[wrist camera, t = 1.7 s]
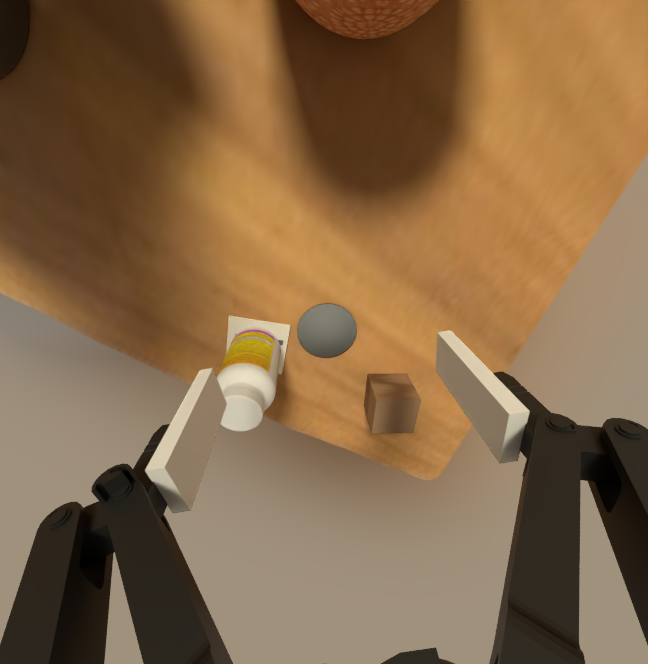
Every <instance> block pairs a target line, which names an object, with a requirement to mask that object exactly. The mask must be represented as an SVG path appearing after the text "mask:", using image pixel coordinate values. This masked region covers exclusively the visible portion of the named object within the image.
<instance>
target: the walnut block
mask: <svg viewBox="0 0 648 664" xmlns="http://www.w3.org/2000/svg"><path fill="white" fill-rule="evenodd" d="M420 402H421V399H420V397H419V395H418V393H417V391H416V390H415V388H414V386H413V384H412V382H411V380H410V378H409V376H408V375H407V374H368V375H367V383H366V392H365V400H364V407H365V411H366V415H367V419H368V422H369V426H370V430H371V433H372V434H380V433H413V431H414V427H415V423H416V418H417V414H418V410H419V406H420Z"/></svg>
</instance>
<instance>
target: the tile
mask: <svg viewBox="0 0 648 664" xmlns="http://www.w3.org/2000/svg"><path fill="white" fill-rule="evenodd" d="M253 327H255V328H262V329H265V330H267V331H269V332H271V333H272V334H273V335H274V336H275V337H276V338H277V339H278V341H279V344H280V347H281V355H280V362H279V370H278V374H282V371H283V366H284V360H285V354H286V348H287V343H288V337H289V331H290V325H287V324H280V323H274V322H268V321H261V320H255V319H249V318H242V317H236V316H230V315H229V320H228V335H227V349H226V354H227V352H228V349H229V347H230V345H231V342H232V340H233V338H234V337H235V336H236V335H237V334H238V333H239V332H240V331H242V330H244V329H247V328H253Z"/></svg>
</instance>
